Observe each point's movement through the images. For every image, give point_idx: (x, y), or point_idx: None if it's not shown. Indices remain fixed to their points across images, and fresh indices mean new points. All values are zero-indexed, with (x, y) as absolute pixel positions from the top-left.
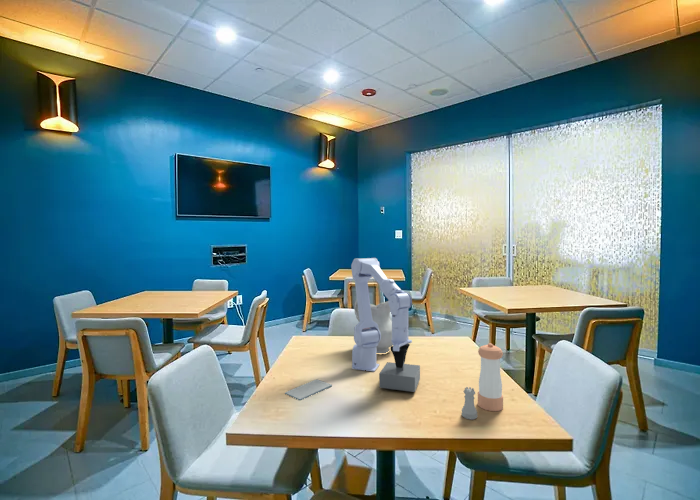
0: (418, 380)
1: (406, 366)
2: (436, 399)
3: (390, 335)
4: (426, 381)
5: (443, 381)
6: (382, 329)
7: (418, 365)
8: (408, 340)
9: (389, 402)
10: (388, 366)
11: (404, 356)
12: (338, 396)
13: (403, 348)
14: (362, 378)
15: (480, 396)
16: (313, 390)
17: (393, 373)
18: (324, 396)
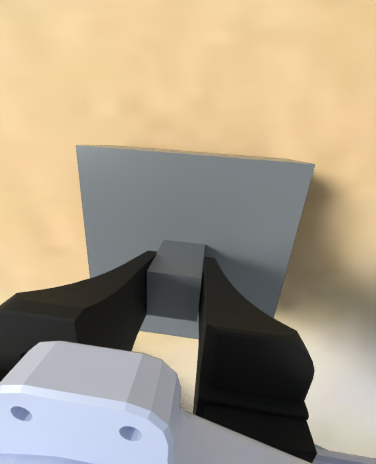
0: (164, 149)
1: (126, 229)
2: (317, 39)
3: None
4: (104, 113)
5: (69, 10)
6: None
7: (79, 155)
8: (85, 461)
9: (357, 253)
10: (156, 316)
11: (137, 278)
12: (314, 393)
13: (229, 376)
14: (158, 350)
15: None
16: None
17: (258, 289)
18: (316, 420)
